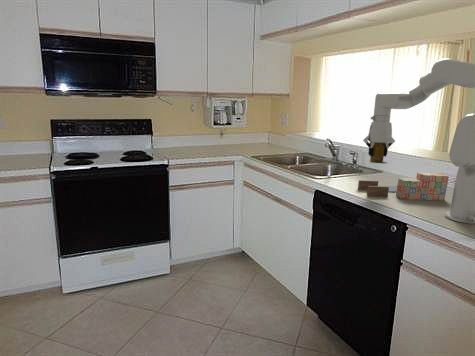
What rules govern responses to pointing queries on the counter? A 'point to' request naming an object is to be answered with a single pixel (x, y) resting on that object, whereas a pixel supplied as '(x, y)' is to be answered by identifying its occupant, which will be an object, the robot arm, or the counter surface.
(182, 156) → the counter surface
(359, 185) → the brown angular block
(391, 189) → the mat
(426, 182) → the stack of blocks
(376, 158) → the condiment
